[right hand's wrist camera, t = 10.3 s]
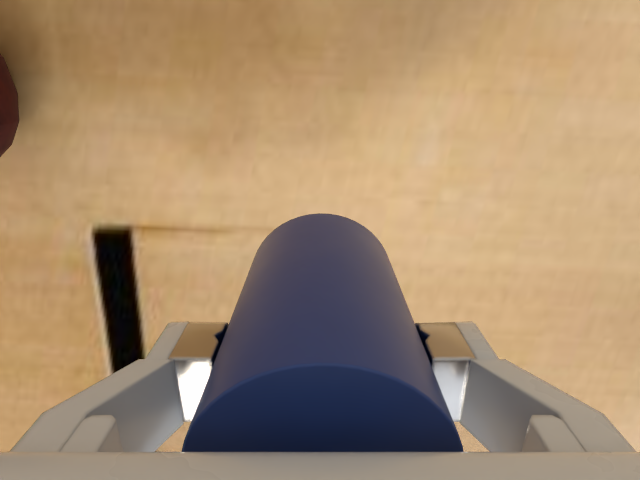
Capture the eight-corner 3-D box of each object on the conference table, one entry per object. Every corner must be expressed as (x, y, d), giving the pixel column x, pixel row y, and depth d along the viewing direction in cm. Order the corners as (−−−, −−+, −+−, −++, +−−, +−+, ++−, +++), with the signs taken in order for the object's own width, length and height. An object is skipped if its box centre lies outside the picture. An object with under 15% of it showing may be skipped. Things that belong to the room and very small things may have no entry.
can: (324, 360, 15) (327, 601, 8) (223, 282, 14) (122, 484, 7) (420, 276, 14) (524, 475, 7) (317, 182, 13) (314, 305, 6)
